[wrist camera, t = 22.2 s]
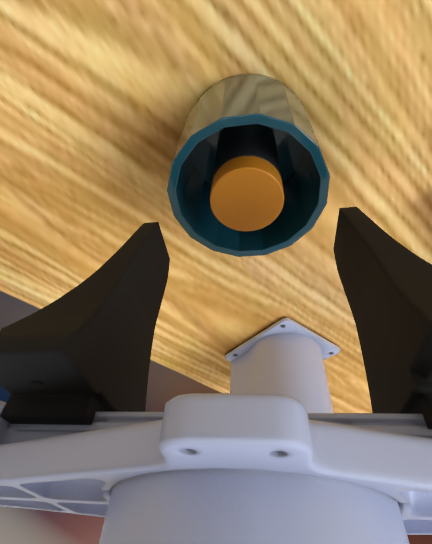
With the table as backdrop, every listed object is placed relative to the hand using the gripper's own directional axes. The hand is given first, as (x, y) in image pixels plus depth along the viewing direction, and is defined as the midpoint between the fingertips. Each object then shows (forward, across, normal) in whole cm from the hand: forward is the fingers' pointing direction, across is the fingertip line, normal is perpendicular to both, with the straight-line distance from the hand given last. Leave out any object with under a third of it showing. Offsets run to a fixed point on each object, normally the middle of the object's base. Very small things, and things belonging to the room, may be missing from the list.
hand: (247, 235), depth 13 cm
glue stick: (+8, 0, 0) cm, 8 cm away
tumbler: (+9, 0, 0) cm, 9 cm away
